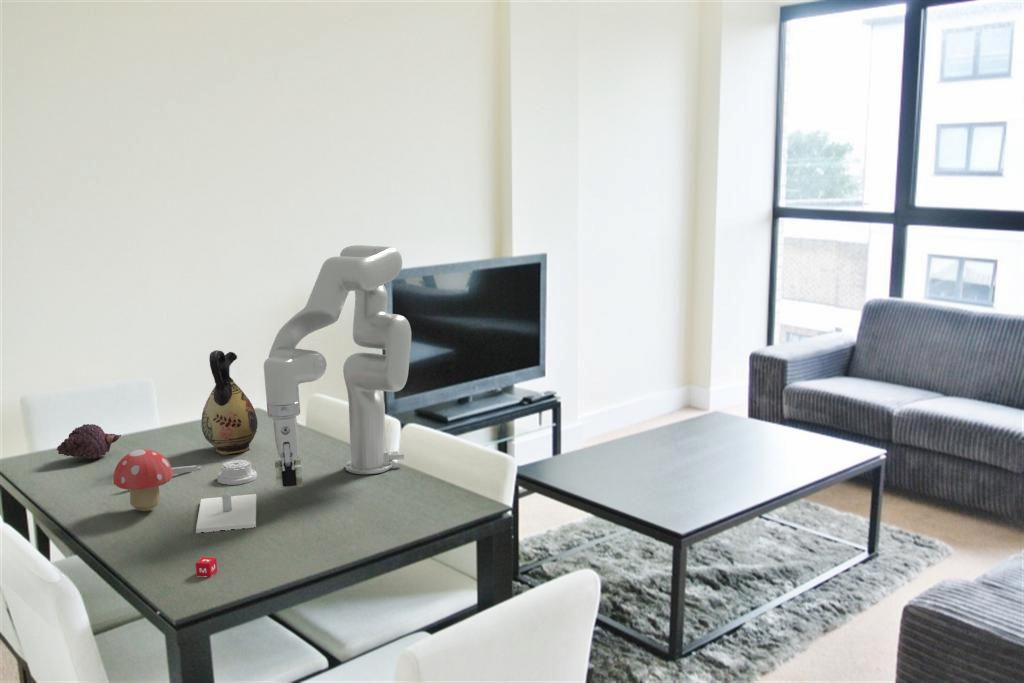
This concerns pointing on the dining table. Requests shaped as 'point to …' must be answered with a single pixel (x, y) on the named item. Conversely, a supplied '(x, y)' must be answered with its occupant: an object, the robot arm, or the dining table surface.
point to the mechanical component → (236, 473)
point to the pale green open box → (279, 473)
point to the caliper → (185, 469)
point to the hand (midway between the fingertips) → (289, 480)
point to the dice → (206, 566)
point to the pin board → (227, 513)
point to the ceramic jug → (227, 410)
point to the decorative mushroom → (143, 477)
